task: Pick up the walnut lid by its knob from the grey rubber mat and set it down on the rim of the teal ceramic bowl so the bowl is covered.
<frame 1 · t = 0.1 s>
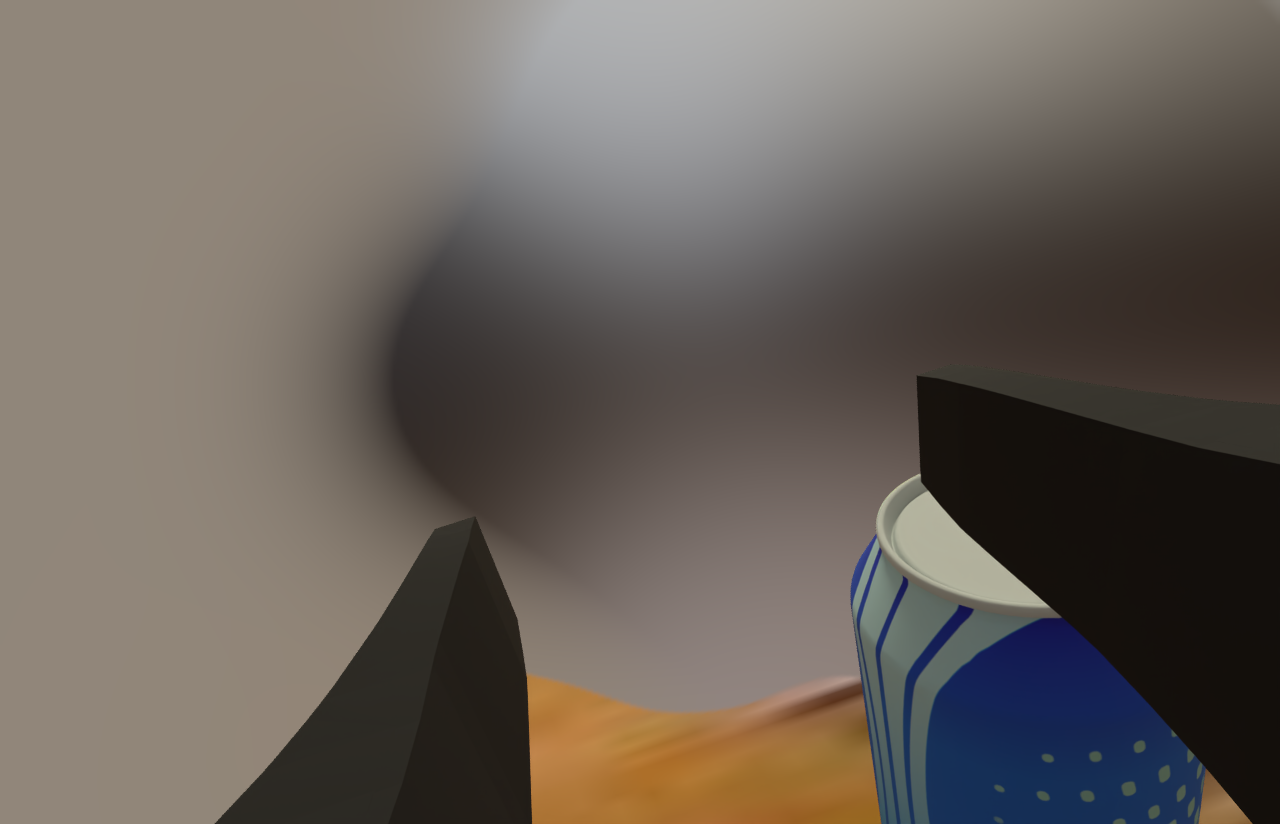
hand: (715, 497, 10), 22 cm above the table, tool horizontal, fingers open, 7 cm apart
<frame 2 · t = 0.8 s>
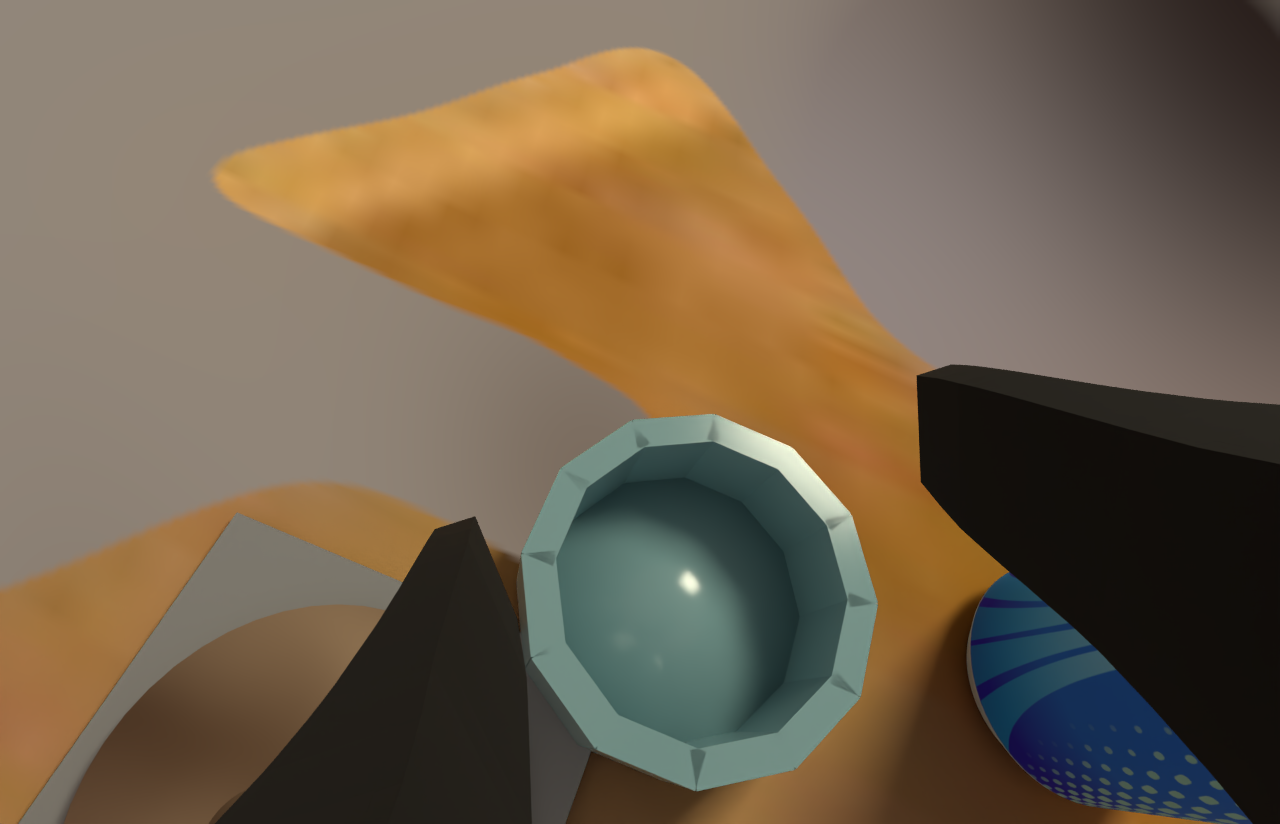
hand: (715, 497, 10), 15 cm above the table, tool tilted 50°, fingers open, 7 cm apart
beer can: (1042, 680, 26), on the table
bowl: (671, 603, 24), on the table
mat: (314, 819, 20), on the table
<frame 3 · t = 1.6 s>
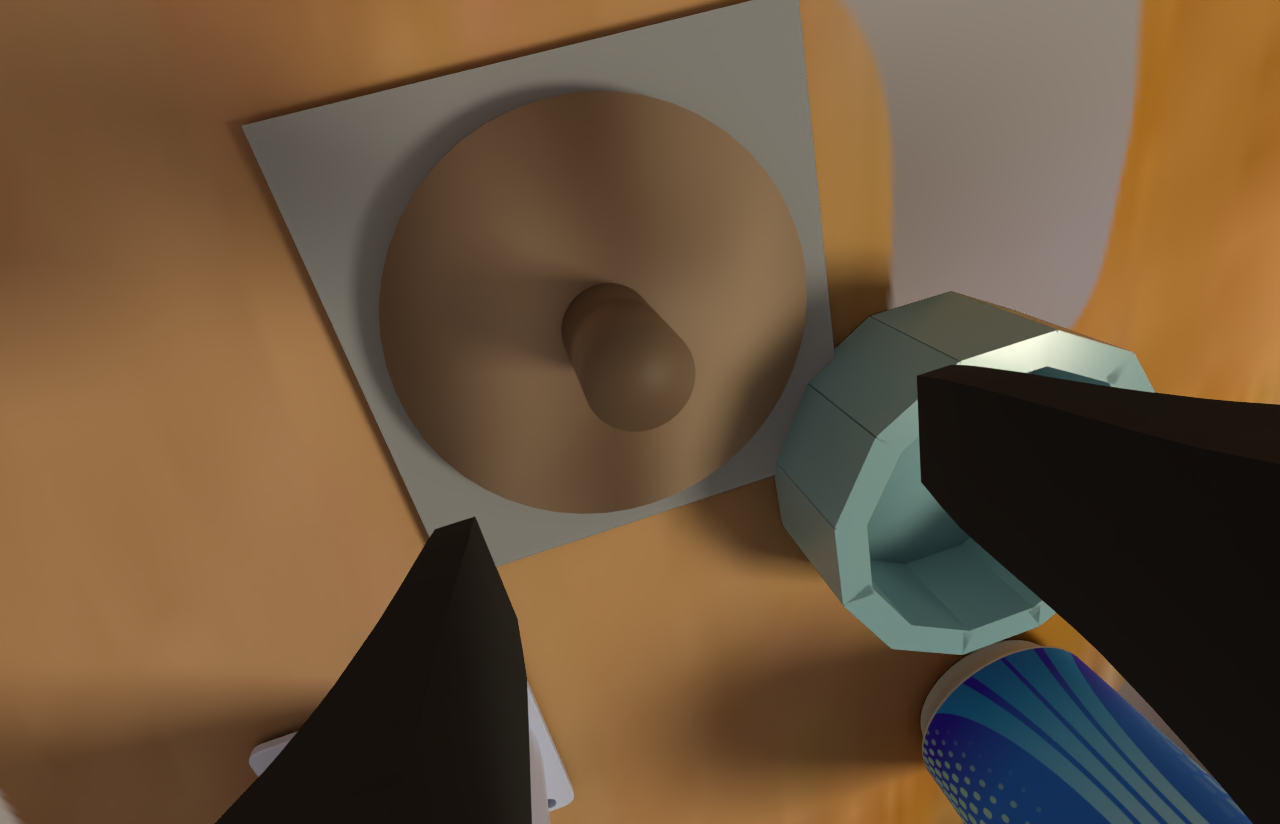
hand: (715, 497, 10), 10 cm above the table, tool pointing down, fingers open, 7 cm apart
beer can: (983, 693, 31), on the table
bowl: (916, 445, 24), on the table
lid: (619, 346, 17), on the mat
mat: (600, 317, 20), on the table
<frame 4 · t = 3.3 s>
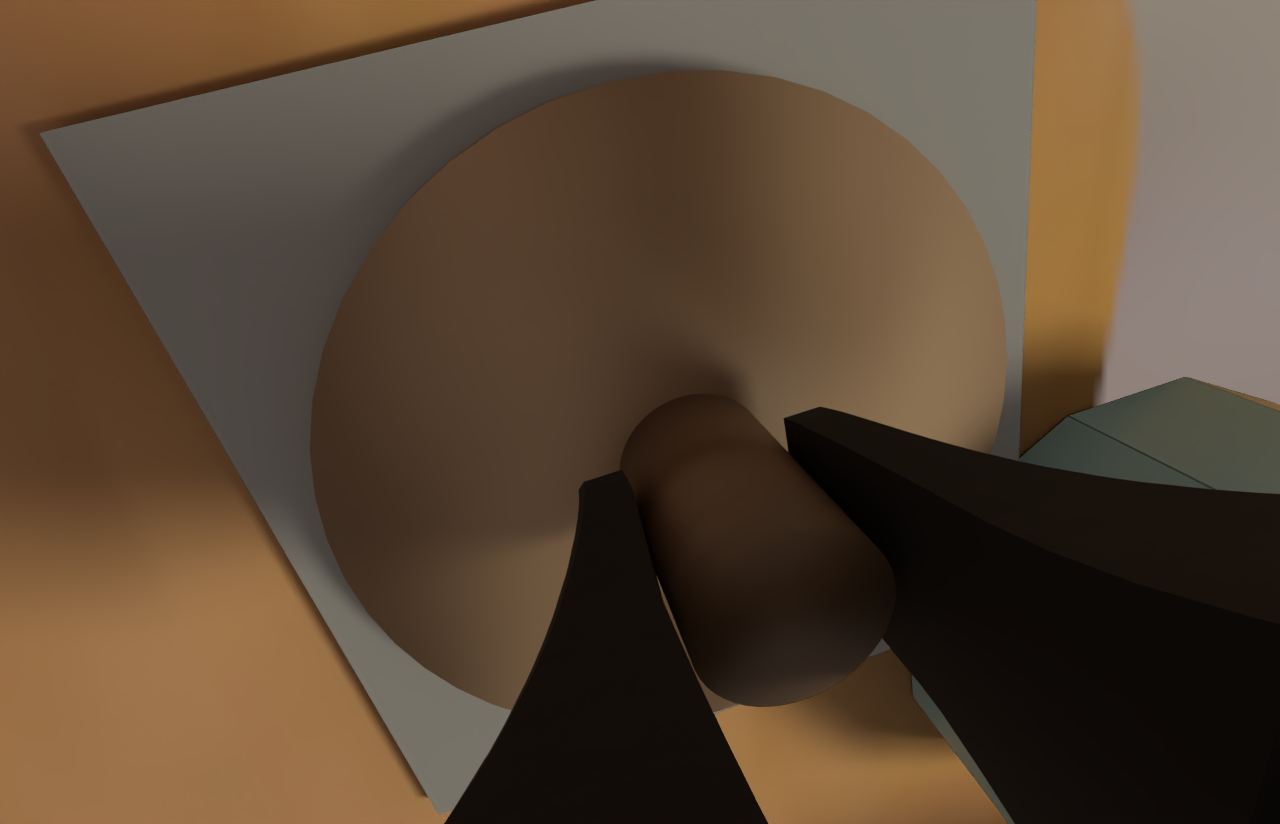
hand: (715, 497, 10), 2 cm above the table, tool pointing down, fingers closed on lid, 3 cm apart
bowl: (1105, 585, 17), on the table
lid: (725, 514, 10), on the mat, touching gripper
mat: (675, 434, 12), on the table
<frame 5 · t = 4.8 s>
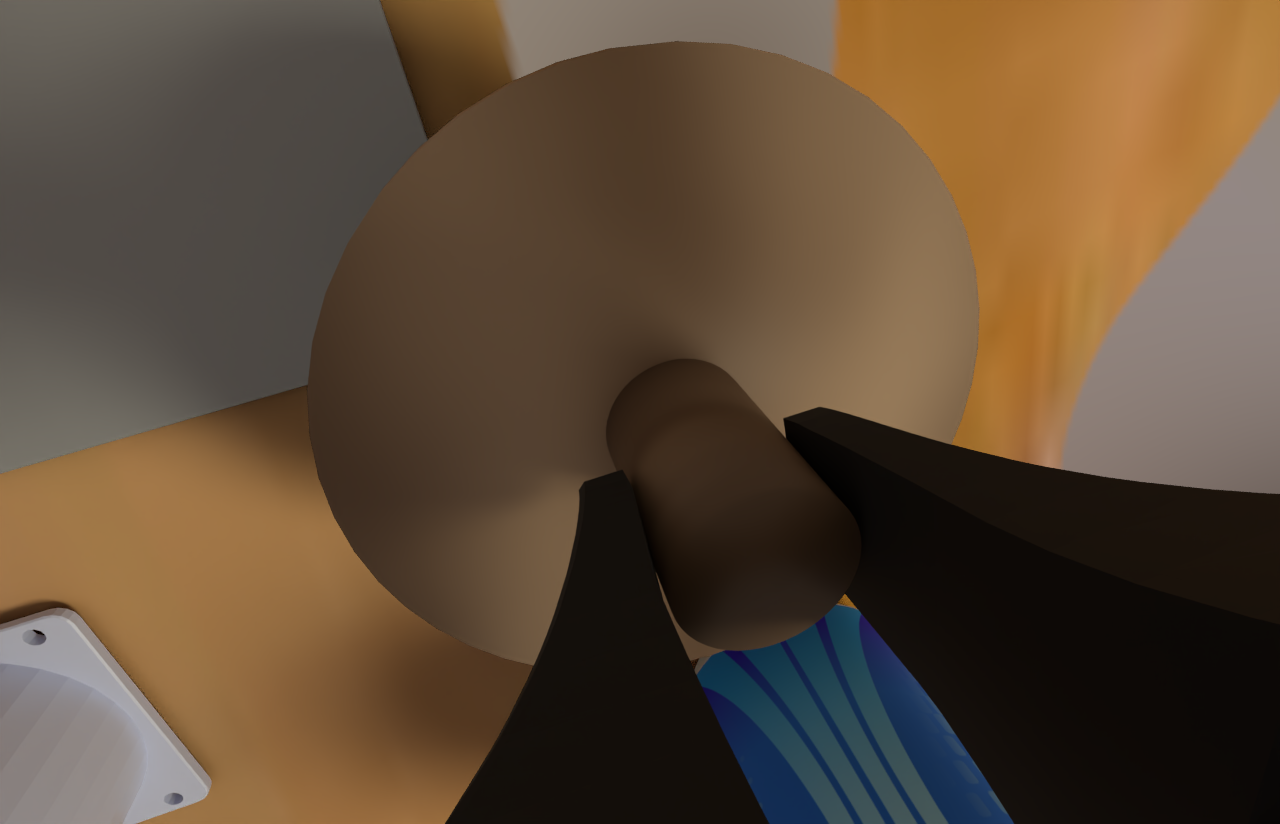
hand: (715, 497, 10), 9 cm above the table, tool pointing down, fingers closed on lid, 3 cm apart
beer can: (774, 665, 26), on the table
lid: (706, 473, 10), point 9 cm above the table, touching gripper
mat: (60, 111, 14), on the table
when the fingers open (7 cm above the table, at t = 5.3 s): lid stays where it is, resting on bowl.
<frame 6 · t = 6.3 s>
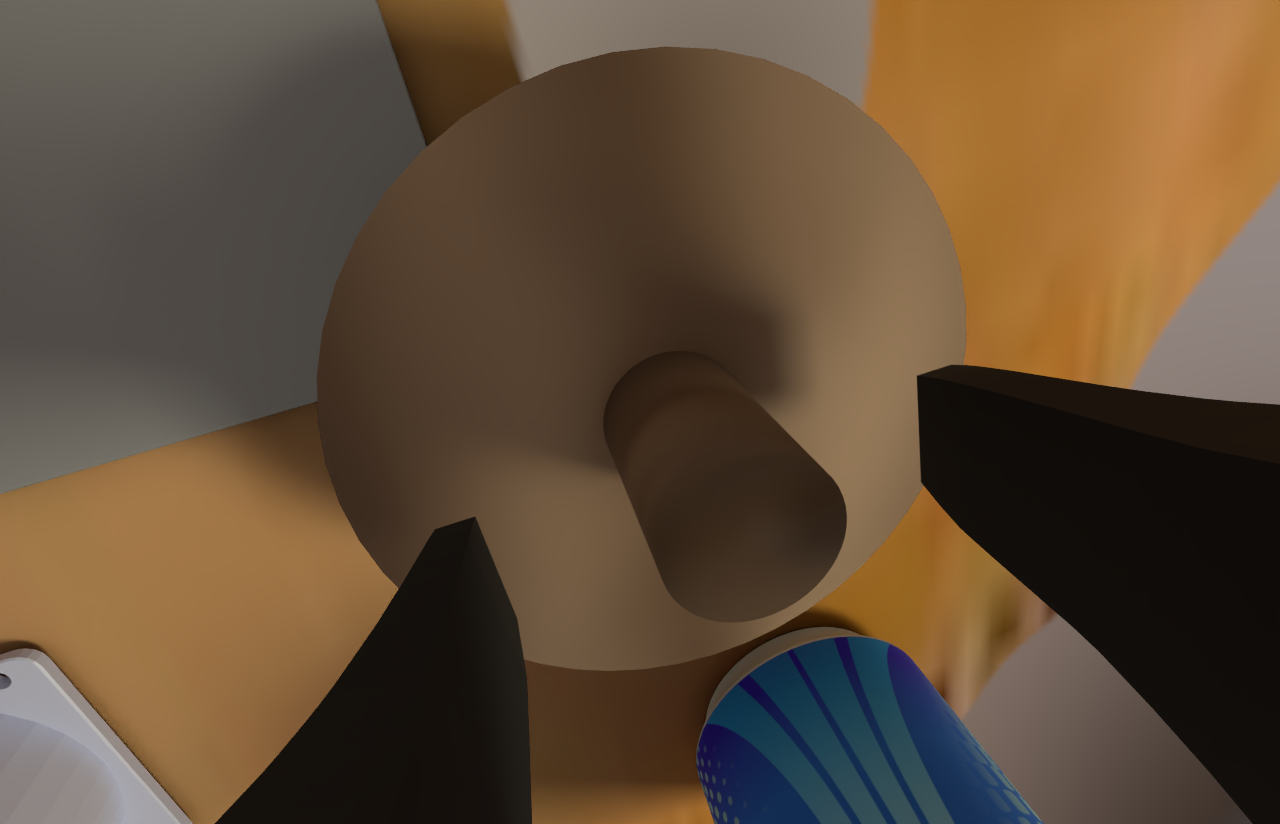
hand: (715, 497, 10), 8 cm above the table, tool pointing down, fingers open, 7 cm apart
beer can: (794, 697, 24), on the table
lid: (699, 458, 11), on the bowl, point 7 cm above the table
mat: (15, 108, 12), on the table
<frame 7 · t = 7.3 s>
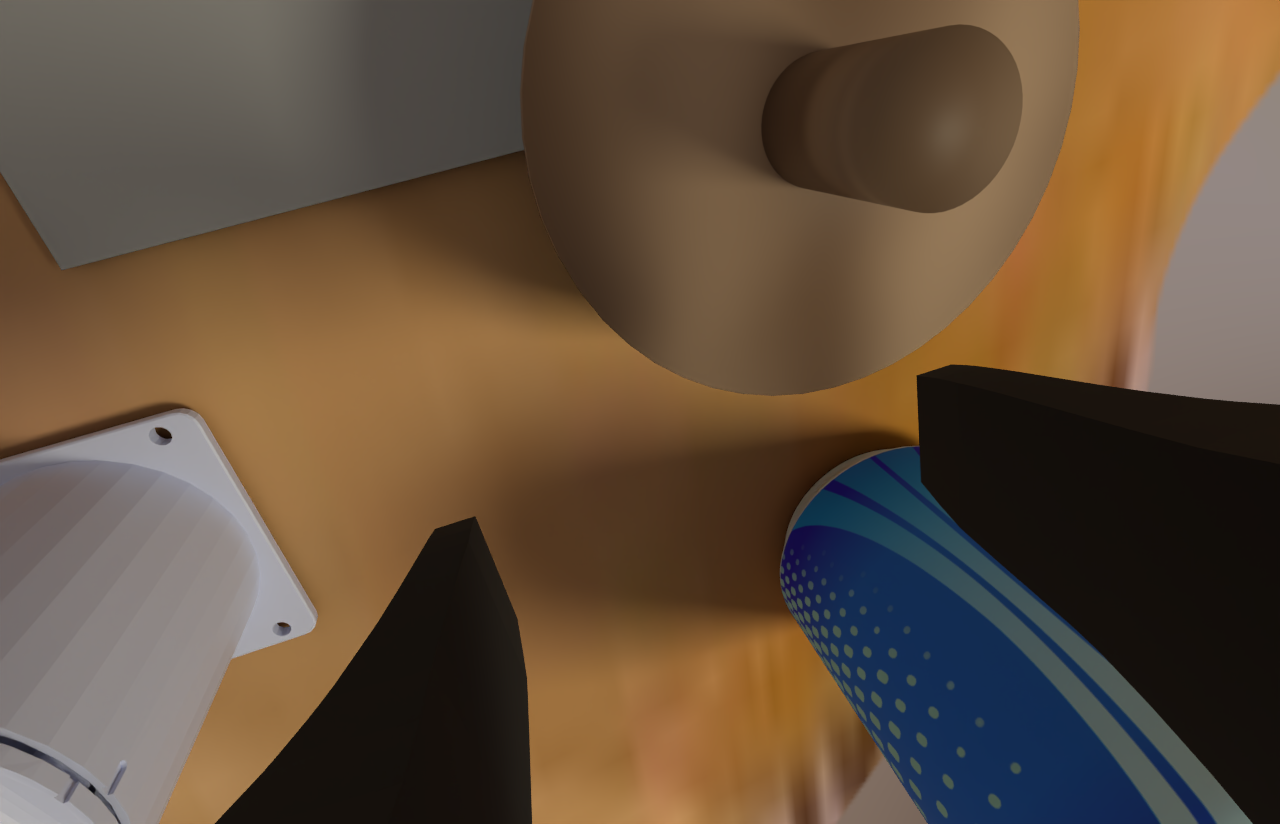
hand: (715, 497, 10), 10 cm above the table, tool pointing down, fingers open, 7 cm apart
beer can: (865, 526, 26), on the table
lid: (862, 122, 12), on the bowl, point 7 cm above the table
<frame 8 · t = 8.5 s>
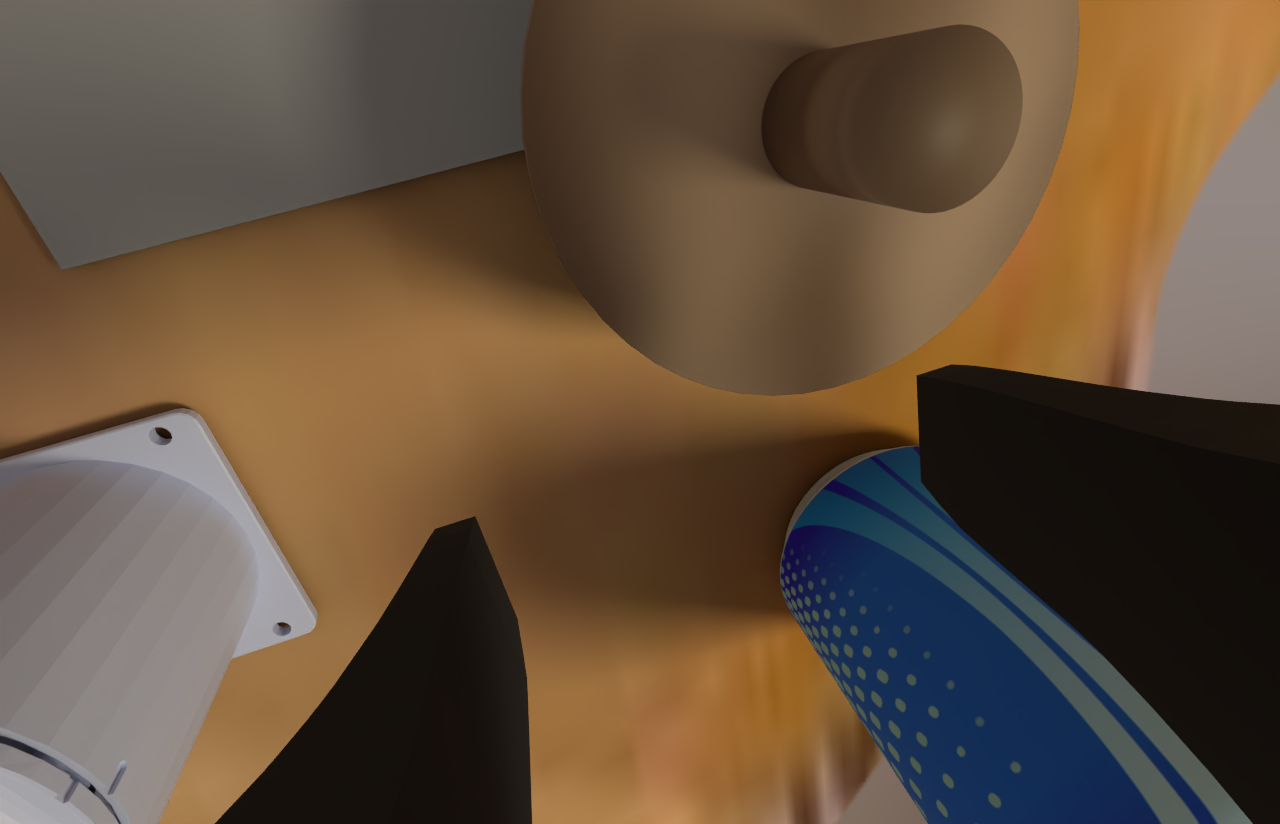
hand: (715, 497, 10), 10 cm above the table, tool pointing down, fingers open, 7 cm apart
beer can: (865, 526, 26), on the table
lid: (862, 122, 12), on the bowl, point 7 cm above the table
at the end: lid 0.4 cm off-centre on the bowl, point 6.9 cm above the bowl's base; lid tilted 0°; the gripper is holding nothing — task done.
